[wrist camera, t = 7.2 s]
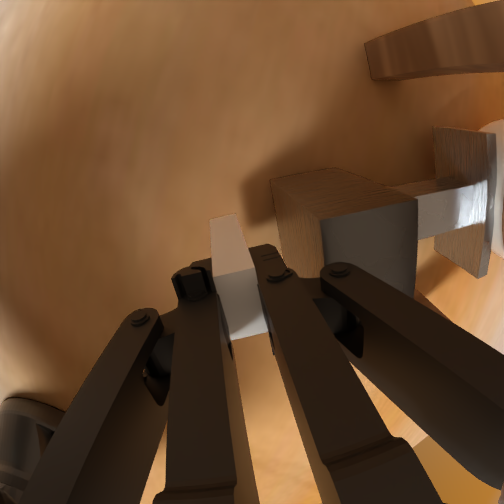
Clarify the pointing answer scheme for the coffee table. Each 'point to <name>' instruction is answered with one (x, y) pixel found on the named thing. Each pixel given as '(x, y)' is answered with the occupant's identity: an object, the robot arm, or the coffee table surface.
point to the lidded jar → (498, 187)
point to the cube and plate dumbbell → (393, 214)
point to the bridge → (441, 53)
